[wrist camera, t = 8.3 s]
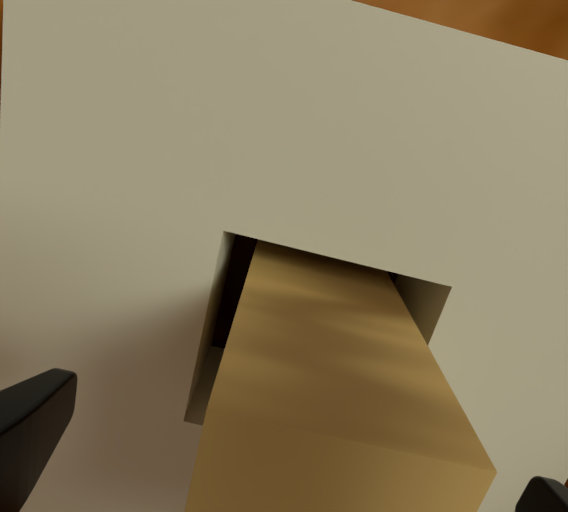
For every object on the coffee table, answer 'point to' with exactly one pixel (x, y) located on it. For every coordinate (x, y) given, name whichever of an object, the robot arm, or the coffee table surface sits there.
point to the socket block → (271, 215)
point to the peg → (331, 401)
